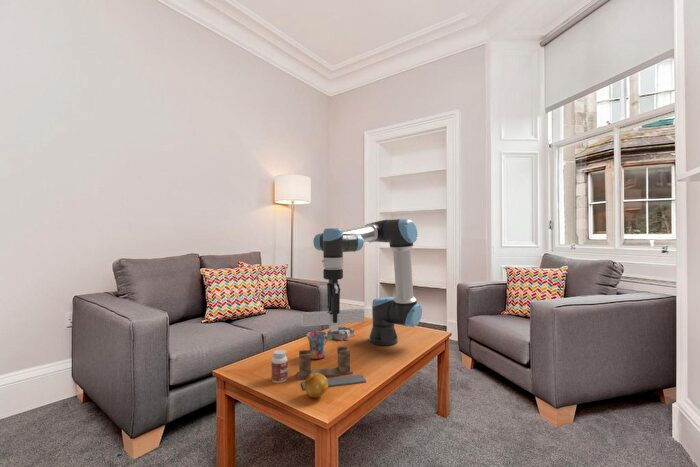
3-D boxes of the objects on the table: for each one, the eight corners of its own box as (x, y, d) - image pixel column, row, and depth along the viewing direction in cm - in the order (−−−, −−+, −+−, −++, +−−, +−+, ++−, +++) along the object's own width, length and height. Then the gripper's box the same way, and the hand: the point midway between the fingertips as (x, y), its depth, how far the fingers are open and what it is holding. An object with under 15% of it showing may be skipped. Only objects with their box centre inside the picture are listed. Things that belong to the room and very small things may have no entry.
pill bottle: (282, 384, 125) (281, 355, 125) (268, 382, 128) (268, 353, 128) (290, 378, 131) (290, 350, 131) (277, 375, 134) (277, 348, 133)
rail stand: (348, 367, 141) (348, 345, 141) (352, 373, 135) (352, 350, 135) (296, 373, 135) (296, 350, 135) (298, 379, 129) (298, 355, 129)
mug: (315, 362, 147) (315, 338, 147) (302, 357, 153) (302, 334, 153) (335, 354, 156) (334, 332, 156) (321, 350, 162) (321, 328, 162)
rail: (362, 319, 131) (362, 308, 131) (364, 321, 129) (364, 310, 129) (301, 324, 125) (301, 312, 125) (302, 326, 122) (302, 314, 122)
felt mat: (361, 375, 133) (361, 374, 133) (366, 382, 127) (366, 380, 127) (301, 383, 127) (301, 381, 127) (303, 390, 121) (303, 388, 121)
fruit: (301, 401, 113) (301, 377, 113) (308, 390, 121) (308, 368, 121) (325, 403, 112) (324, 379, 112) (330, 391, 120) (330, 369, 120)
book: (339, 345, 170) (339, 335, 170) (320, 341, 177) (320, 331, 177) (360, 335, 186) (360, 326, 186) (342, 331, 193) (342, 323, 193)
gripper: (319, 266, 134) (320, 324, 134) (327, 271, 118) (327, 336, 118) (338, 266, 136) (338, 323, 136) (347, 270, 120) (348, 334, 120)
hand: (333, 329), depth 127 cm, fingers closed on rail, 3 cm apart
